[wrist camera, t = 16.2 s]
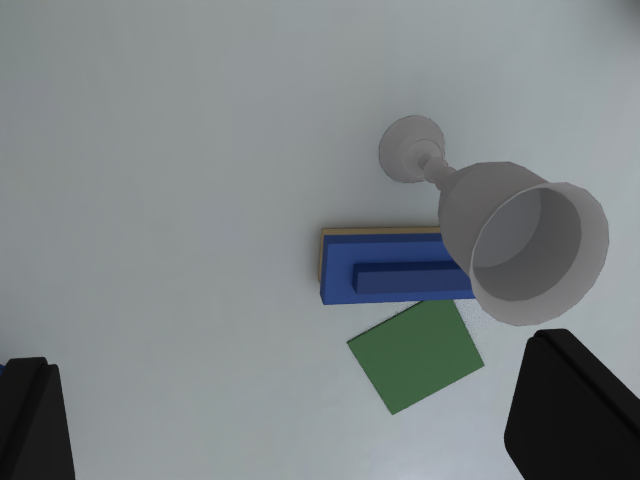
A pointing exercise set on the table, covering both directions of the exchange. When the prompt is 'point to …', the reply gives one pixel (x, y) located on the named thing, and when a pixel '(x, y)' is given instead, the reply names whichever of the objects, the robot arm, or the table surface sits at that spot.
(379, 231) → the brush
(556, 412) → the robot arm
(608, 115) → the table surface
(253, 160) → the table surface
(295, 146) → the table surface
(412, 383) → the green cloth
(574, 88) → the table surface
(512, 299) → the chalice
